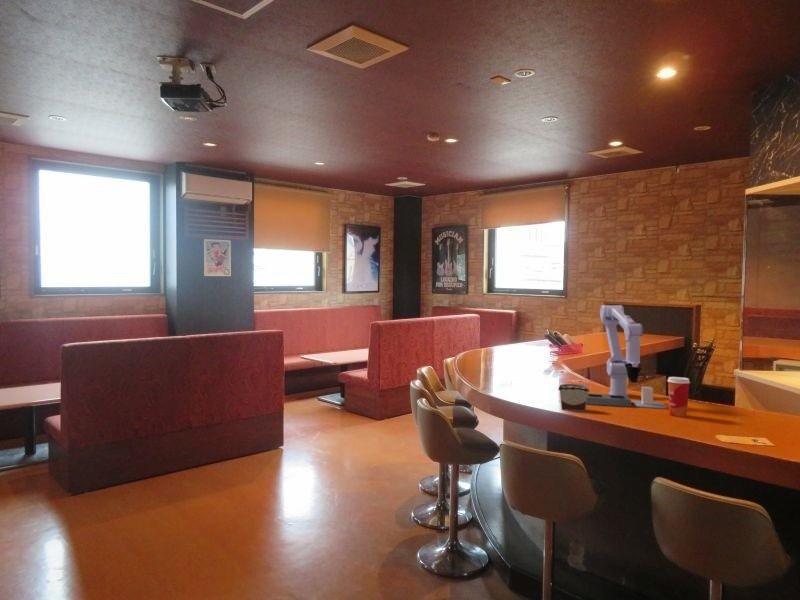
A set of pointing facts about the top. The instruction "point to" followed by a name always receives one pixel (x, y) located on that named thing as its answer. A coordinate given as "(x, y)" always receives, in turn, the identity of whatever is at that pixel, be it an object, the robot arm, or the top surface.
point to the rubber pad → (655, 405)
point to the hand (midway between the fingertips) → (632, 381)
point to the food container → (573, 397)
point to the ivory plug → (647, 396)
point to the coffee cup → (678, 396)
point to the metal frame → (608, 400)
